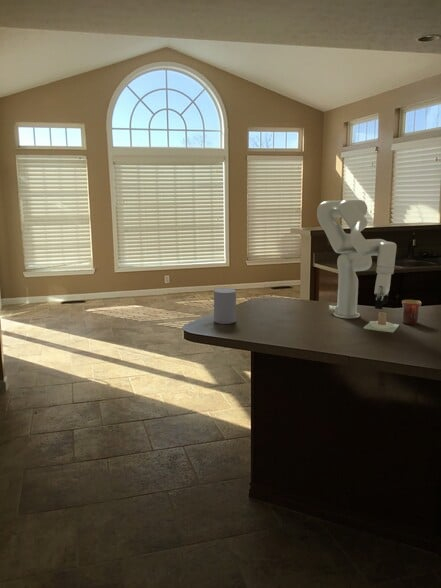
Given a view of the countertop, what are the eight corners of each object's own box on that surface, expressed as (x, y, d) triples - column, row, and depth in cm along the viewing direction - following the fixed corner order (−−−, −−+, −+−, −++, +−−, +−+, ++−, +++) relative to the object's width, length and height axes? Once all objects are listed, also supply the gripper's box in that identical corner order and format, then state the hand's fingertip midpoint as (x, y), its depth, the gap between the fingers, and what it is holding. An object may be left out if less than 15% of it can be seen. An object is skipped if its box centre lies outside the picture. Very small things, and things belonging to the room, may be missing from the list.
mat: (363, 328, 236) (363, 327, 236) (370, 322, 248) (370, 321, 247) (393, 332, 230) (393, 331, 230) (399, 325, 241) (399, 324, 241)
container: (216, 318, 254) (216, 288, 251) (237, 319, 252) (237, 289, 249) (211, 323, 244) (211, 292, 241) (233, 325, 242) (233, 293, 239)
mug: (399, 320, 252) (400, 299, 249) (418, 321, 250) (419, 300, 248) (402, 326, 240) (404, 304, 238) (422, 327, 238) (424, 305, 236)
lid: (368, 327, 237) (368, 314, 236) (373, 322, 245) (373, 309, 244) (390, 330, 232) (391, 316, 231) (395, 324, 241) (396, 312, 239)
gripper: (381, 265, 243) (377, 300, 247) (371, 271, 228) (368, 309, 232) (397, 267, 239) (393, 303, 243) (389, 274, 225) (385, 312, 229)
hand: (381, 306), depth 238 cm, fingers open, 9 cm apart
